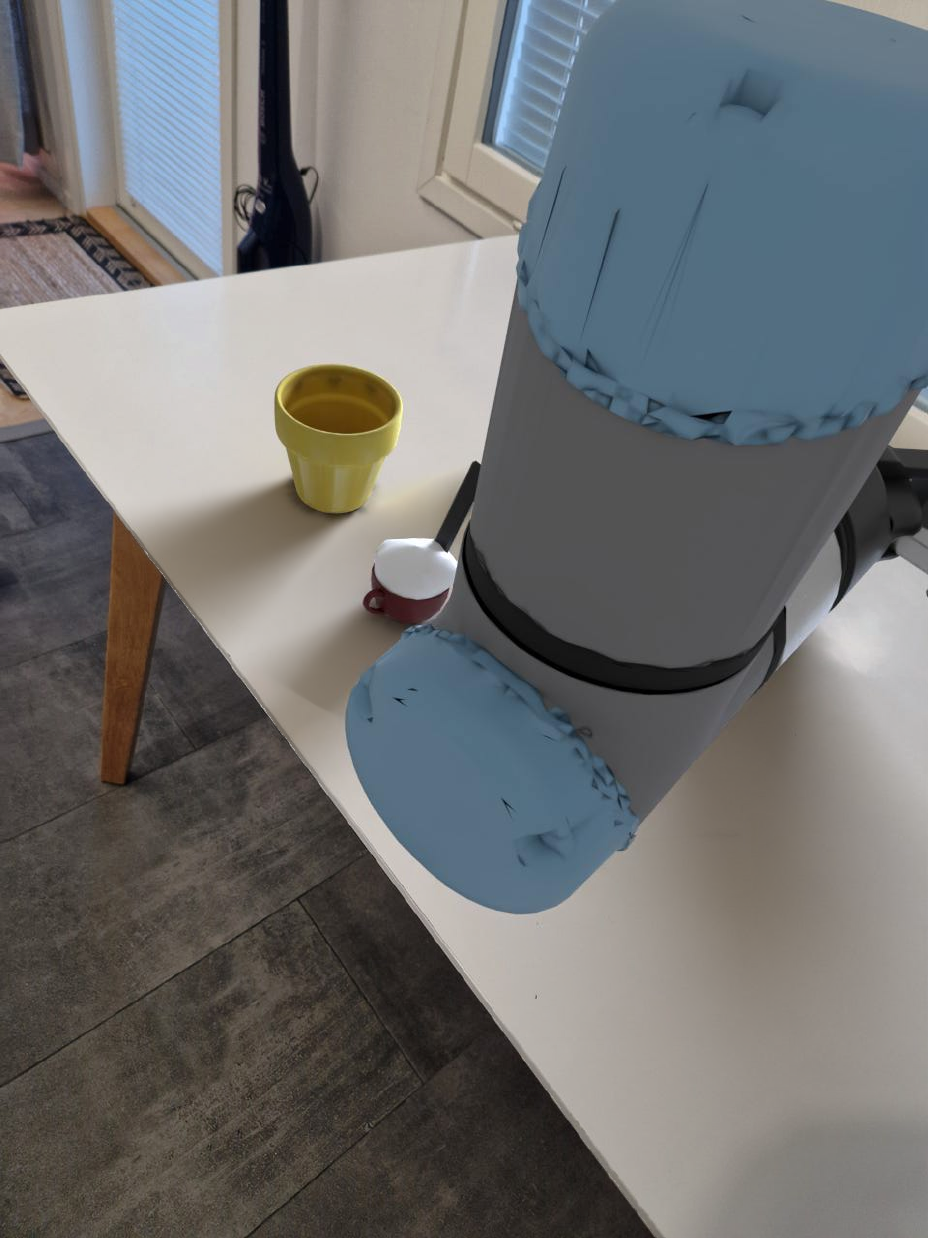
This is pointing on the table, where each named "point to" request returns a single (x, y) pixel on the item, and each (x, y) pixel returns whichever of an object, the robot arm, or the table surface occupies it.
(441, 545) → the cocoa
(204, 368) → the table surface
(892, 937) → the table surface
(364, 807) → the table surface
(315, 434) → the flower pot
